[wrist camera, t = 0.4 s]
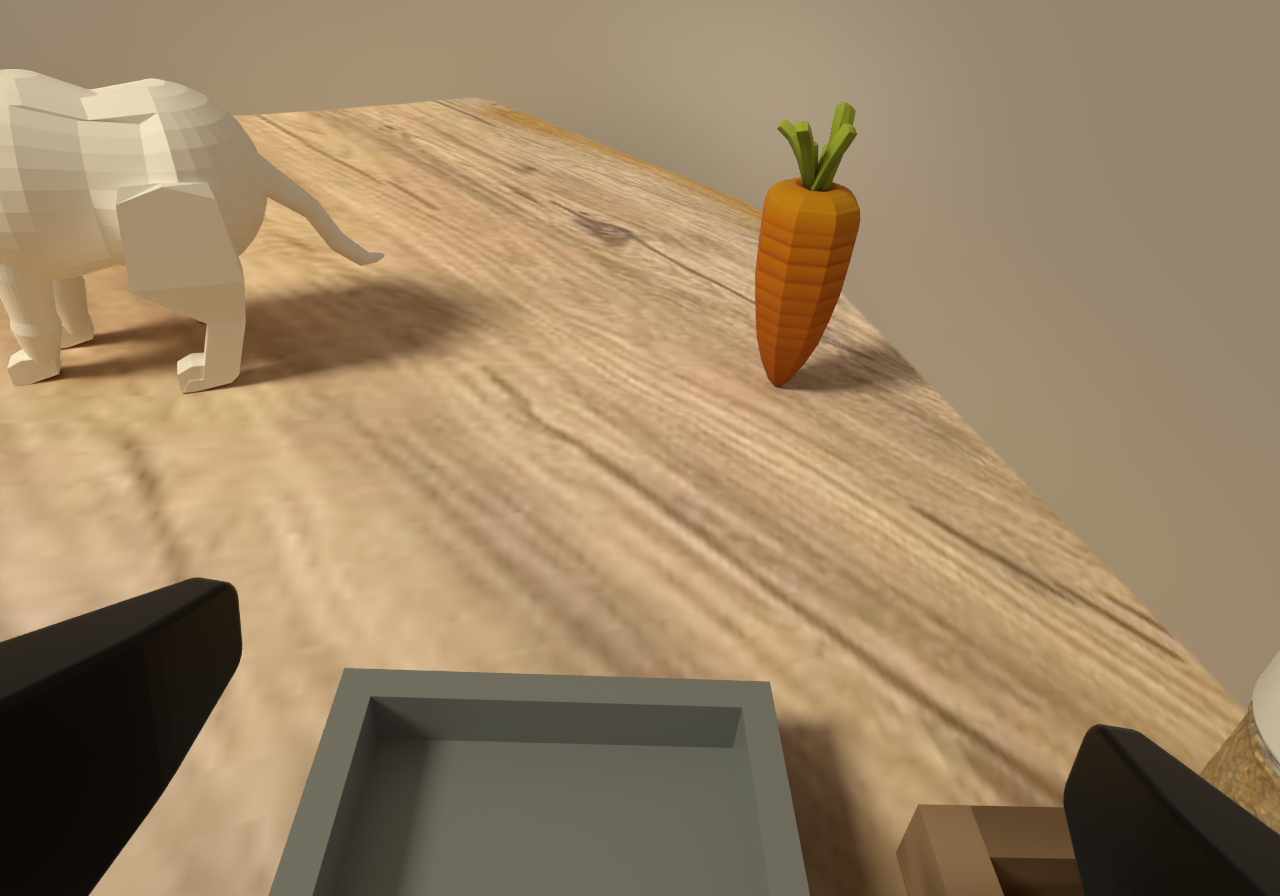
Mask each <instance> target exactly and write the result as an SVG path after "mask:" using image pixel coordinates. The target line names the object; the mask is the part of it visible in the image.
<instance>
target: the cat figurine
mask: <svg viewBox="0 0 1280 896" xmlns="http://www.w3.org/2000/svg"><path fill="white" fill-rule="evenodd" d="M267 197H268V198H270V199H272V200H274V201H276V202H278V203H280V204H282V205H283V206H285V207H287V208H289V209H291V210H293V211H295V212H297V213H298V214H300V215H302V216H304V217H306V218H307V220H308V221H309V222H310V223H311V225H312V226H313V227H314V228H315V230H316V231H317V232H318V233H319V235H320V236H321V237H322V238H323V240H324V241H325V242H326V243H327V245H328V246H329V247H330V248H331V250H333V251H335V252H337V253H339V254H340V255H342V256H344V257H346V258H348V259H349V260H351V261H353V262H355V263H357V264H359V265H360V266H363V265H367V264H371V263H374V262H377V261H379V260H380V259H382V258H383V257H384V254H383V253H369V252H367V251H366V250H365V249H363V248H362V247H360V246H359V245H358V244H356V243H355V242H354V241H352V240H351V239H350V238H348V237H347V236H346V235H344V234H343V233H342V232H341V231H340V229H339V228H338V227H337V225H336V224H335V223H334V221H333V220H332V219H331V218H330V216H329V215H328V214H327V212H326V211H325V210H324V208H323V207H322V206H321V205H320V203H319V202H318V201H317V200H316V199H315V198H314V197H312V196H311V195H310V194H308V193H307V192H306V191H305V190H303V189H302V188H301V187H300V186H298V185H297V184H296V183H295V182H293V181H292V180H291V179H289V178H288V177H287V176H286V175H284V174H283V173H282V172H281V171H279V170H278V169H277V168H276V167H274V166H273V165H272V164H271V163H269V162H268V161H267V160H266V159H264V158H263V157H262V156H261V155H260V154H258V152H257V150H256V147H255V145H254V143H253V142H252V140H251V139H250V137H249V136H248V134H247V133H246V132H245V130H244V129H243V128H242V126H241V125H240V123H239V122H238V121H237V120H236V119H235V118H234V117H233V116H232V115H230V114H229V113H228V112H227V111H226V110H225V109H224V108H223V107H221V106H220V105H218V104H217V103H215V102H214V101H212V100H211V99H209V98H208V97H207V96H205V95H204V94H202V93H199V92H197V91H195V90H193V89H190V88H188V87H186V86H183V85H181V84H178V83H174V82H169V81H164V80H159V79H153V78H151V79H146V80H140V81H134V82H129V83H124V84H119V85H113V86H108V87H102V88H97V89H91V90H88V89H85V88H82V87H79V86H75V85H73V84H70V83H67V82H64V81H61V80H57V79H55V78H52V77H49V76H46V75H43V74H40V73H37V72H32V71H28V70H18V69H4V70H0V298H1V301H2V303H3V305H4V307H5V309H6V311H7V313H8V315H9V317H10V326H11V331H12V332H13V334H14V336H15V337H16V339H17V340H18V342H19V344H20V345H21V347H22V350H20V351H19V352H17V353H15V354H14V355H12V356H11V358H10V361H9V365H8V368H7V369H8V372H9V374H10V377H11V379H12V382H13V384H14V386H19V385H27V384H32V383H35V382H38V381H41V380H43V379H46V378H49V377H52V376H55V375H58V374H59V372H60V367H61V360H60V349H61V348H68V347H71V346H74V345H77V344H80V343H83V342H85V341H88V340H91V339H93V337H94V330H95V329H94V326H93V323H92V320H91V317H90V314H88V305H87V296H86V287H85V280H84V278H83V276H82V275H85V274H89V273H92V272H96V271H99V270H102V269H106V268H109V267H112V266H116V265H123V266H126V272H127V278H128V284H129V290H130V293H132V294H135V295H137V296H140V297H142V298H144V299H147V300H149V301H152V302H154V303H157V304H159V305H162V306H164V307H166V308H169V309H171V310H174V311H176V312H179V313H181V314H184V315H186V316H188V317H191V318H193V319H196V320H197V321H198V322H203V323H206V324H207V327H206V337H205V347H204V353H191V354H189V355H188V356H186V357H184V358H183V359H181V360H179V361H177V375H178V379H179V383H180V386H181V390H182V393H189V392H197V391H201V390H205V389H209V388H213V387H217V386H221V385H225V384H228V383H232V382H233V381H234V380H235V379H236V378H237V376H238V375H239V372H240V364H241V356H242V348H243V340H244V332H245V324H246V312H245V287H244V277H243V270H242V265H241V262H240V259H239V255H241V254H242V253H243V252H244V251H245V250H246V249H247V247H248V246H249V245H250V243H251V242H252V241H253V240H254V238H255V237H256V235H257V233H258V231H259V229H260V227H261V224H262V222H263V220H264V215H265V210H266V205H267Z"/></svg>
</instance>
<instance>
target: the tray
mask: <svg viewBox="0 0 1280 896" xmlns="http://www.w3.org/2000/svg"><path fill="white" fill-rule="evenodd" d="M269 896H810V892H809V887H808V882H807V877H806V871H805V866H804V861H803V855H802V850H801V845H800V839H799V834H798V829H797V824H796V818H795V813H794V808H793V802H792V797H791V792H790V786H789V781H788V776H787V770H786V765H785V760H784V755H783V749H782V744H781V739H780V733H779V728H778V723H777V717H776V712H775V707H774V701H773V696H772V691H771V686H770V682H762V681H731V680H699V679H668V678H637V677H605V676H574V675H543V674H511V673H480V672H448V671H417V670H386V669H354V668H344V671H343V674H342V677H341V680H340V683H339V686H338V689H337V692H336V695H335V698H334V701H333V704H332V707H331V710H330V713H329V716H328V719H327V722H326V725H325V728H324V731H323V734H322V737H321V740H320V743H319V746H318V749H317V752H316V755H315V758H314V761H313V764H312V767H311V770H310V773H309V776H308V779H307V782H306V785H305V788H304V791H303V794H302V797H301V800H300V803H299V806H298V809H297V812H296V815H295V818H294V821H293V824H292V827H291V830H290V833H289V836H288V839H287V842H286V845H285V848H284V851H283V854H282V857H281V860H280V863H279V866H278V869H277V872H276V875H275V878H274V881H273V884H272V887H271V890H270V893H269Z"/></svg>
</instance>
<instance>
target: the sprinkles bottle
mask: <svg viewBox="0 0 1280 896" xmlns="http://www.w3.org/2000/svg"><path fill="white" fill-rule="evenodd" d="M1199 776H1200V777H1202V778H1203V779H1205V780H1206V781H1207V782H1209V783H1210V784H1211V785H1213V786H1214V787H1215V788H1217V789H1218V790H1220V791H1221V792H1222V793H1224V794H1225V795H1226V796H1228V797H1229V798H1230V799H1232V800H1233V801H1235V802H1236V803H1237V804H1239V805H1240V806H1241V807H1243V808H1244V809H1246V810H1247V811H1248V812H1250V813H1251V814H1252V815H1254V816H1255V817H1256V818H1258V819H1259V820H1261V821H1262V822H1263V823H1265V824H1266V825H1267V826H1269V827H1270V828H1271V829H1273V830H1274V831H1276V832H1277V833H1278V834H1280V651H1279V652H1278V653H1277V655H1276V656H1275V657H1274V659H1273V660H1272V661H1271V663H1270V664H1269V665H1268V667H1267V668H1266V669H1265V671H1264V672H1263V674H1262V675H1261V676H1260V678H1259V679H1258V681H1257V683H1256V686H1255V689H1254V692H1253V700H1252V701H1251V703H1250V704H1249V707H1248V713H1247V714H1246V716H1245V717H1244V718H1243V720H1242V721H1241V722H1240V724H1239V725H1238V726H1237V727H1236V729H1235V730H1234V731H1233V733H1232V735H1231V736H1230V737H1229V738H1228V739H1227V740H1226V741H1225V742H1224V743H1223V744H1222V746H1221V748H1220V750H1219V752H1217V753H1216V754H1215V755H1214V756H1213V757H1212V758H1211V760H1210V761H1209V762H1208V763H1207V765H1206V767H1205V768H1204V770H1203V771H1202V772H1201V774H1200V775H1199Z"/></svg>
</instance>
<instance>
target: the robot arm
mask: <svg viewBox="0 0 1280 896" xmlns="http://www.w3.org/2000/svg"><path fill="white" fill-rule="evenodd" d="M241 655H242V635H241V623H240V612H239V600H238V594H237V591H236V589H235V587H234V586H233V585H232V584H230V583H229V582H224V581H218V580H212V579H206V578H199V577H198V578H191V579H187V580H184V581H181V582H178V583H175V584H173V585H170V586H167V587H164V588H161V589H158V590H155V591H152V592H149V593H146V594H143V595H140V596H137V597H134V598H131V599H128V600H125V601H122V602H119V603H116V604H113V605H110V606H107V607H104V608H101V609H98V610H95V611H92V612H89V613H86V614H83V615H80V616H77V617H74V618H71V619H68V620H65V621H62V622H59V623H56V624H53V625H50V626H47V627H45V628H42V629H39V630H36V631H33V632H30V633H27V634H24V635H21V636H18V637H15V638H12V639H9V640H6V641H3V642H0V896H89V894H90V893H91V892H92V890H93V889H94V887H95V886H96V885H97V883H98V882H99V881H100V879H101V878H102V877H103V875H104V874H105V872H106V871H107V870H108V868H109V867H110V866H111V864H112V863H113V861H114V860H115V859H116V857H117V856H118V855H119V853H120V852H121V851H122V849H123V848H124V846H125V845H126V844H127V842H128V841H129V840H130V838H131V837H132V835H133V834H134V833H135V831H136V830H137V829H138V827H139V826H140V825H141V823H142V822H143V820H144V819H145V818H146V816H147V815H148V814H149V812H150V811H151V809H152V808H153V806H154V805H155V804H156V802H157V801H158V799H159V798H160V796H161V795H162V794H163V792H164V791H165V789H166V788H167V786H168V784H169V783H170V781H171V780H172V778H173V776H174V775H175V773H176V772H177V770H178V768H179V767H180V765H181V763H182V761H183V760H184V758H185V756H186V755H187V753H188V751H189V750H190V748H191V746H192V744H193V743H194V741H195V739H196V738H197V736H198V734H199V733H200V731H201V729H202V727H203V726H204V724H205V722H206V721H207V719H208V717H209V716H210V714H211V712H212V710H213V709H214V707H215V705H216V704H217V702H218V700H219V699H220V697H221V695H222V693H223V692H224V690H225V688H226V687H227V685H228V683H229V682H230V680H231V678H232V676H233V675H234V673H235V671H236V669H237V667H238V665H239V662H240V659H241ZM1063 801H1064V811H1065V816H1066V820H1067V825H1068V829H1069V833H1070V838H1071V842H1072V846H1073V851H1074V855H1075V859H1076V864H1077V868H1078V873H1079V877H1080V881H1081V886H1082V890H1083V894H1084V896H1280V834H1278V833H1277V832H1276V831H1274V830H1273V829H1271V828H1270V827H1269V826H1267V825H1266V824H1265V823H1263V822H1262V821H1261V820H1259V819H1258V818H1256V817H1255V816H1254V815H1252V814H1251V813H1250V812H1248V811H1247V810H1246V809H1244V808H1243V807H1241V806H1240V805H1239V804H1237V803H1236V802H1235V801H1233V800H1232V799H1230V798H1229V797H1228V796H1226V795H1225V794H1224V793H1222V792H1221V791H1220V790H1218V789H1217V788H1215V787H1214V786H1213V785H1211V784H1210V783H1209V782H1207V781H1206V780H1205V779H1203V778H1202V777H1200V776H1199V775H1198V774H1196V773H1195V772H1194V771H1192V770H1191V769H1189V768H1188V767H1187V766H1185V765H1184V764H1183V763H1181V762H1180V761H1179V760H1177V759H1176V758H1174V757H1173V756H1172V755H1170V754H1169V753H1168V752H1166V751H1165V750H1164V749H1162V748H1161V747H1159V746H1158V745H1157V744H1155V743H1154V742H1153V741H1151V740H1150V739H1149V738H1147V737H1146V736H1144V735H1143V734H1142V733H1140V732H1138V731H1135V730H1133V729H1127V728H1120V727H1114V726H1108V725H1102V724H1097V725H1095V726H1092V727H1091V728H1090V729H1089V730H1088V731H1087V732H1086V734H1085V736H1084V738H1083V741H1082V744H1081V746H1080V749H1079V751H1078V754H1077V756H1076V759H1075V761H1074V764H1073V767H1072V769H1071V772H1070V774H1069V777H1068V779H1067V782H1066V785H1065V789H1064V799H1063Z"/></svg>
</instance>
